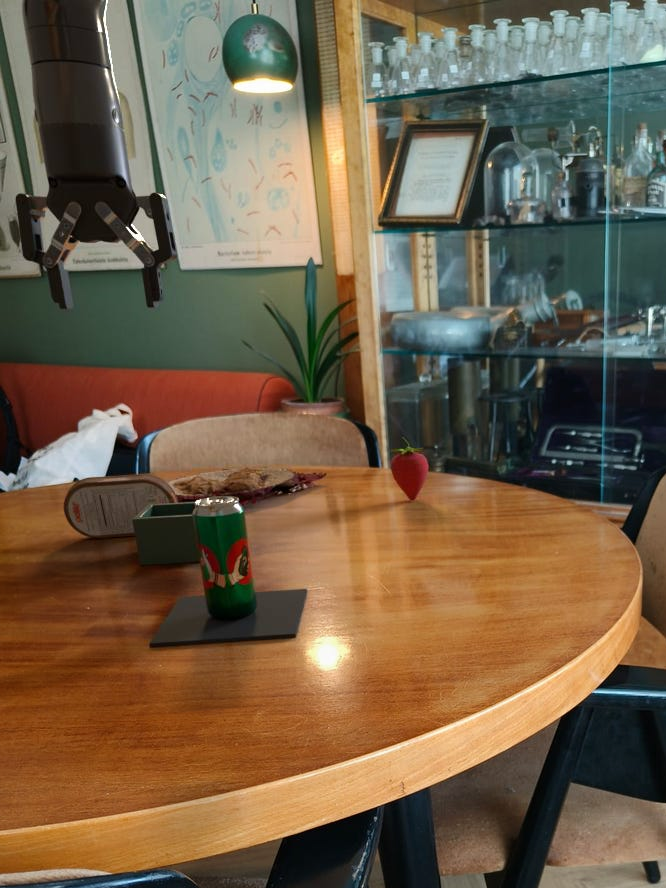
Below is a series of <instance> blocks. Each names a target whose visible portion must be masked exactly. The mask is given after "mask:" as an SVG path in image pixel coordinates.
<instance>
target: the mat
mask: <svg viewBox="0 0 666 888" xmlns="http://www.w3.org/2000/svg"><path fill="white" fill-rule="evenodd" d="M255 592H256V599H257V608H256V609H255V611H254V612H253V613H252V614H251V615H249V616H247V617H245V618H241V619H236V620H219V619H215V618H213V617H212V616H211V615H210V614H209V613H208V611H207V605H206V599H205V594H202V595H187V596H179V598H178V599H177V601H176V602H175V603H174V605H173V607H172V609H171V610H170V611H169V613H168V614H167V616H166V617H165V619H164V620H163V622H162V623H161V624H160V626H159V627H158V629H157V631H156V633H155V634H154V635H153V637H152V638H151V640H150V641H149V643H148V645H149V648H157V647H158V648H160V647H171V646H173V647H174V646H188V645H200V644H202V645H203V644H216V643H233V642H245V641H246V642H247V641H262V640H274V639H275V640H276V639H290V638H291V639H293V638H296V637H297V633H298V631H299V626H300V622H301V618H302V614H303V612H304V611H303V610H304V607H305V602H306V598H307V595H308V589H307V588H298V589H282V590H279V589H278V590H265V591H264V590H263V591H255Z"/></svg>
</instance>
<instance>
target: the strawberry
mask: <svg viewBox="0 0 666 888" xmlns="http://www.w3.org/2000/svg"><path fill="white" fill-rule="evenodd" d="M401 438H402V439H403V440H404V441H405V442H406V443H407V447H405V448H404V449H403V448H396V449H389V452H391V453H392V452H394V453H398V454H396V455H394V456H393V457H392V459H391V460H390V471H391V474H392V477H393V480H394V481H395V483H396V484H397V486H398V487H399V488H400V490H401V491H402V492H403V493H404V494H405V496H406V497H407V498H408V499H409V501H413V502H414V501H415V500H417V498H418V496H419V494H420V492H421V490H422V489H423V487H424V484H425V483H426V480H427V478H428V472H429V463H428V459H427V458H426V457H425V456H424V454H421V453H423V449H424V447H415V448H413V447H410V443H409V441H408V440H406V439H405V438H404V436H401Z"/></svg>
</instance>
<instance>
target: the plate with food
mask: <svg viewBox="0 0 666 888" xmlns="http://www.w3.org/2000/svg"><path fill="white" fill-rule="evenodd" d="M326 476H327V472H325V473H322V472H319V473H318V474H317V473H316V472H312V473H304V472H299V471H298V472H296V471H292V469H287V468H282V467H278V468H275V467H268V466H262V467H261V466H258V467H257V466H256V467H255V466H254V467H251V466H246V467H244V468H238V467H237V468H232V469H229V468H222V469H221V470H215V471H207V472H198V473H197V474H194V475H189V476H188V475H184V476H179V477H177V478H175V479H173V480H168V481H167V483H168V484H169V485H170V486H171V487H172V489H173V490H174V492H175V494H176V496H177V500H178V503H182V502H188V500H195V501H198V500H200V499H204V498H208V497H216V496H233V497H237V498H238V499H239V503H240V504H241V506H242V507H243V506H244V505H246V504H249V503H251V504H255V505H256V503H260V500H261V499H264V498H267V497H272V496H274V495H275V494H276V495H281V494H283V492H282V491H281V490H275V491H272V489H273V488H275V487H277V486H278V485H279V486H280V485H281V484H284V483H286V482H287V483H288V482H291V484H290V485H291V486H293V487H291V488H290V489H289V490H288V491H289V492H290V493H288V495H292V493H293V495H295V492H296V491H302V490H305V489H308V488H312V487H314V485H315V482H316V481H317V482H318V481H320V480H322V479H324V477H326ZM183 499H184V500H183Z"/></svg>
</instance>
